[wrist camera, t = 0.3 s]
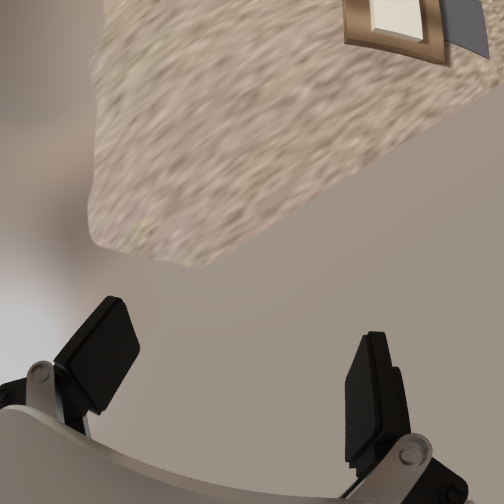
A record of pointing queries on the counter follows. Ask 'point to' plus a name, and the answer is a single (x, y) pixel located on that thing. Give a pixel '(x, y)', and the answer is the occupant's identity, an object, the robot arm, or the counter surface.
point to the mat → (464, 25)
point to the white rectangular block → (397, 18)
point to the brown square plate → (362, 35)
